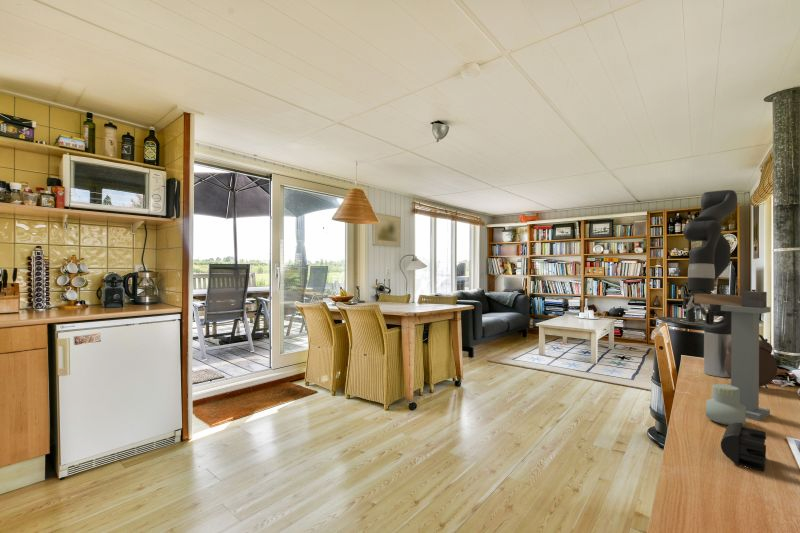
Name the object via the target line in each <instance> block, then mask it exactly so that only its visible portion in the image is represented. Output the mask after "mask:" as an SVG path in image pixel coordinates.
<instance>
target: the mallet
mask: <svg viewBox="0 0 800 533" xmlns="http://www.w3.org/2000/svg"><path fill="white" fill-rule="evenodd" d="M767 293H768V292H767V291H755V290H754V291H753V290H749V291H748V290H747V291H745V290H744V291H741V295H733V294H729V295H714V294H715V293H711V294H694V303H700V304H714V305H729V306H742V307H752V308H764V307H768V304H767V301H768V298H767V295H768V294H767Z"/></svg>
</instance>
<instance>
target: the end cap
mask: <svg viewBox="0 0 800 533" xmlns="http://www.w3.org/2000/svg"><path fill="white" fill-rule="evenodd" d="M766 440H767V432H766V431H762V430H759V429H753V428H749V427H746V426H744V425H743V423H733V424H730V425H727V426H726V428H725V431H724V433H723V435H722V438H721V441H720V448H721V449H720V450H721V451H722V453H723V454H724V455H725V457H727V458H728V459H729V460H730V461H731V462H732V463H734V464H735V465H737V464H738V465H737V466H739V465H742V466H741V467H743V466H746V467H748V468H747V469H750V468H751V469H750V470H753V469H754V471H757V472H760V471H761V473H764V472H765V470H766V469H765V468H766V460H767V456H766V455H767V445H766V444H765V443H766ZM746 467H745V468H746Z"/></svg>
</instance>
